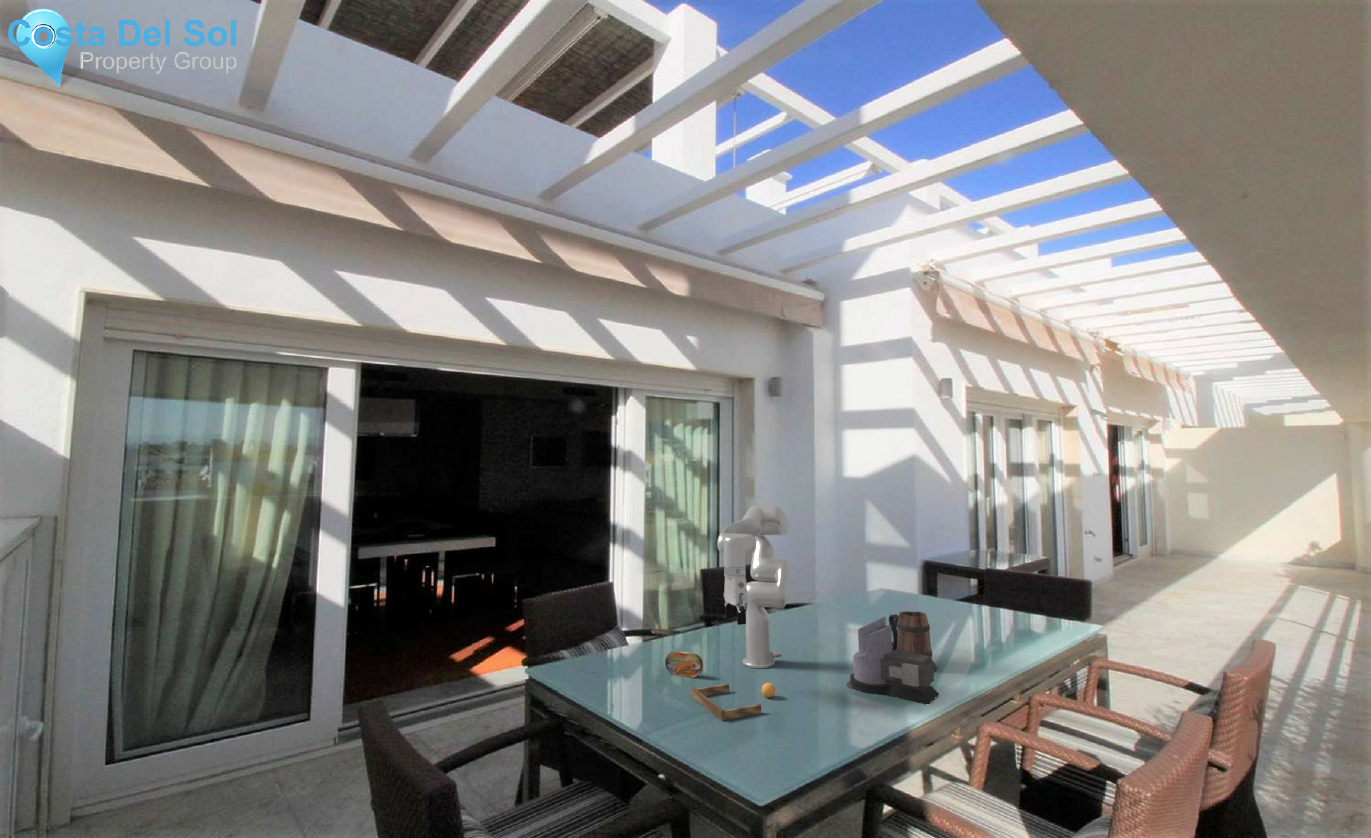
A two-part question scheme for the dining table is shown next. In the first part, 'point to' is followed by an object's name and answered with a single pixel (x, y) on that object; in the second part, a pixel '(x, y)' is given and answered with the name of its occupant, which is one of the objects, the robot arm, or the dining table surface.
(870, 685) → the juicer
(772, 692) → the ball
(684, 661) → the tin
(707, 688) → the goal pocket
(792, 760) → the dining table surface
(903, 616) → the tankard
